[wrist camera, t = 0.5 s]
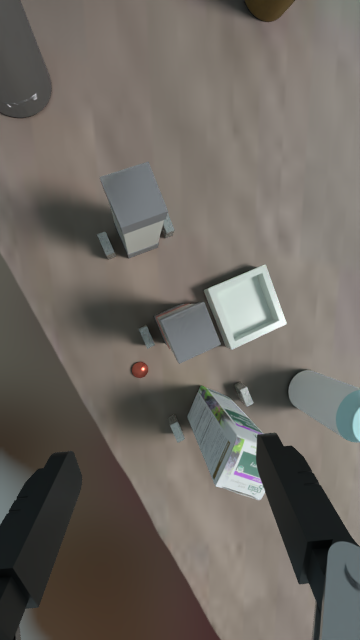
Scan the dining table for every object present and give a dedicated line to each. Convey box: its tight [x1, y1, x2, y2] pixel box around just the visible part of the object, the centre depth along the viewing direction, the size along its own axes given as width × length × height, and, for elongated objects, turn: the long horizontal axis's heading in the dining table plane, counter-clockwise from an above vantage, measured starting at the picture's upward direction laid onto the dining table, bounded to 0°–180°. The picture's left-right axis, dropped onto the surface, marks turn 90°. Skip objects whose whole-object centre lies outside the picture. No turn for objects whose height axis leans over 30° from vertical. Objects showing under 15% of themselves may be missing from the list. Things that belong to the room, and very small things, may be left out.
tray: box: [203, 265, 287, 350], centre depth 36 cm, size 10×10×2 cm
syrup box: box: [187, 386, 265, 500], centre depth 30 cm, size 6×6×14 cm
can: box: [288, 370, 360, 442], centre depth 34 cm, size 7×7×12 cm
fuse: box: [100, 162, 168, 258], centre depth 27 cm, size 5×5×13 cm
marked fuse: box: [154, 302, 221, 364], centre depth 29 cm, size 5×5×13 cm
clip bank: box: [97, 213, 253, 442], centre depth 34 cm, size 32×15×2 cm, turn 23°
